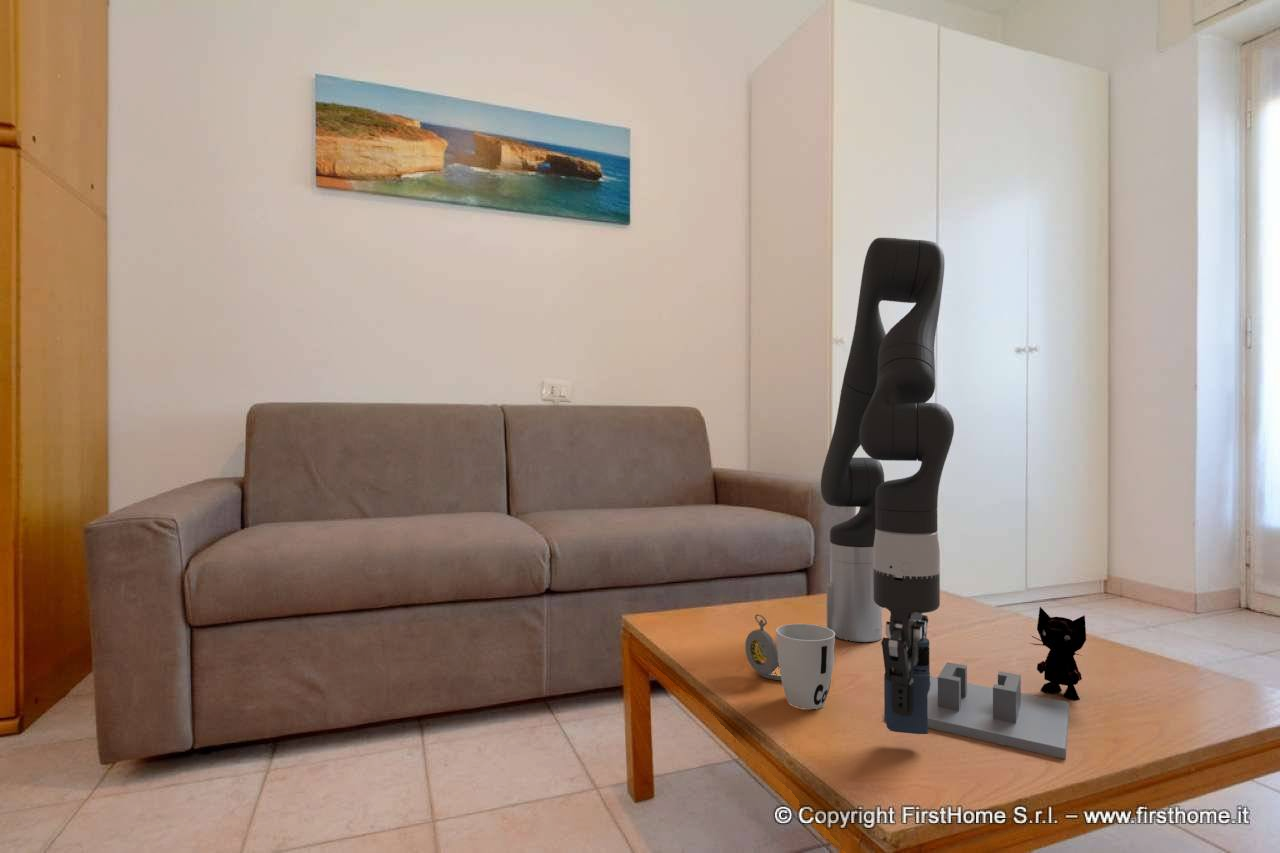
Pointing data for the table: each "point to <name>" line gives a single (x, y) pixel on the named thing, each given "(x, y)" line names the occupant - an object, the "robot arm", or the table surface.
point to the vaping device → (920, 701)
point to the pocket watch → (762, 651)
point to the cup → (805, 663)
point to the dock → (997, 712)
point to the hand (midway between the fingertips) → (906, 707)
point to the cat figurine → (1060, 652)
